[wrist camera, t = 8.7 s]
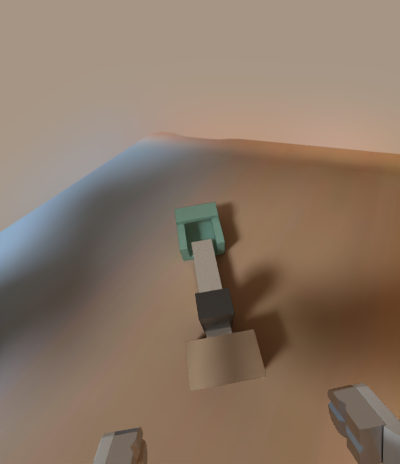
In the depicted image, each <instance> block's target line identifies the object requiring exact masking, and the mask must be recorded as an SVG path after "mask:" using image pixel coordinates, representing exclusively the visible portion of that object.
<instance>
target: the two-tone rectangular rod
mask: <svg viewBox="0 0 400 464" xmlns="http://www.w3.org/2000/svg"><path fill="white" fill-rule="evenodd" d="M191 244H192V250H193V256H194V263H195V269H196V275H197V282H198V288H199V293H196V294H195V296H196V303H197V310H198V317H199V321H200V323H201V325H202V327H203V330H204V332H206V338H209V337H214V336H220V335H225V334H230V333H232V331H231V327H232V323H233V318H234V314H235V313H234V308H233V304H232V300H231V296H230V291H229V287H228V288H223V289H222V285H221V281H220V276H219V272H218V267H217V262H216V258H215V253H214V249H213V244H212V240H211V239H208V240H202V241H197V242H191Z"/></svg>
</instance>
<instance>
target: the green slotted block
mask: <svg viewBox="0 0 400 464" xmlns="http://www.w3.org/2000/svg"><path fill="white" fill-rule="evenodd" d="M175 217H176V224H177V230H178V238H179V246H180V252H181V254H182V257H183V260H184V261H187V260H192V259H194V256H193V250H192V244H191V242H197V241H202V240H208V239H211V240H212V244H213V249H214V253H215V255H219V254H225V241H224V237H223V233H222V229H221V225H220V221H219V217H218V211H217V207H216V204H215V202H212V203H207V204H201V205H195V206H190V207H184V208H179V209H175Z"/></svg>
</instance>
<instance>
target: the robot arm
mask: <svg viewBox="0 0 400 464" xmlns="http://www.w3.org/2000/svg"><path fill="white" fill-rule="evenodd" d="M328 397H329V399H330V400H331V402H330V403H329V405H328V407H329V413H330V416H331V419H332V421H333V423H334V425H335V427H336V429H337V431H338V432H339V433H340V434H341V435H342V436H344V437H345V438H347V447H348V448H349V450H350V452H351V453H352V455H353V456H354V458H355V460H356V461H357V463H358V464H381V463H383V464H400V421H399V420H398V419H397V418H396V416H395V415H394V414H393V413H392V412H391V411H390V410H389V409H388V408H387V407H386V406H385V404H384V403H383V402H382V401H381V400H380V399H379V398H378V397H377V396H376V395H375V394H374V392H373V391H372V390H371V389H370V388H369V387H368V386H367V385H366V384H364V383H359V384H354V385H347V386H343V387H338V388H334V389H329V390H328ZM142 436H143V432H142V429H141V427H139V428H133V429H128V430H122V431H115V432H110V433H105V434H104V435H103V437H102V438H101V441H100V444H99V447H98V450H97V453H96V456H95V458H94V461H93V464H147V445H146V442H145V441H144V440H143V439H142Z"/></svg>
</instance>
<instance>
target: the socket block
mask: <svg viewBox="0 0 400 464" xmlns="http://www.w3.org/2000/svg"><path fill="white" fill-rule="evenodd" d="M185 347H186V356H187V365H188V374H189V384H190V391H193V390H199V389H204V388H209V387H214V386H220V385H225V384H230V383H235V382H241V381H246V380H251V379H256V378H262V377H267V376H266V372H265V368H264V365H263V361H262V357H261V354H260V350H259V346H258V343H257V339H256V335H255V332H254V329H252V330H246V331H241V332H236V333H230V334H225V335H220V336H214V337H209V338H204V339H198V340H193V341H188V342H185Z"/></svg>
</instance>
